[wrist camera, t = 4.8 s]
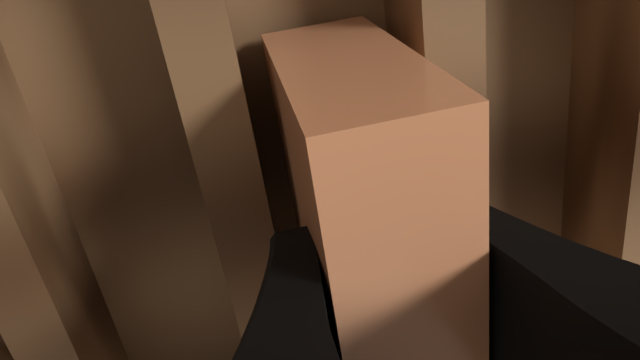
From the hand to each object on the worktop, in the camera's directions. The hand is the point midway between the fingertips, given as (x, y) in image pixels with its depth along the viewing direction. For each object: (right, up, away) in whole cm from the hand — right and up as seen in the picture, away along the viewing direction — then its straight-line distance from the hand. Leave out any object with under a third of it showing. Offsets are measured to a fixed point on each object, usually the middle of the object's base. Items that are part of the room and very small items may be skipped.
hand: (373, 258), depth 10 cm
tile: (-1, +1, +3) cm, 4 cm away
